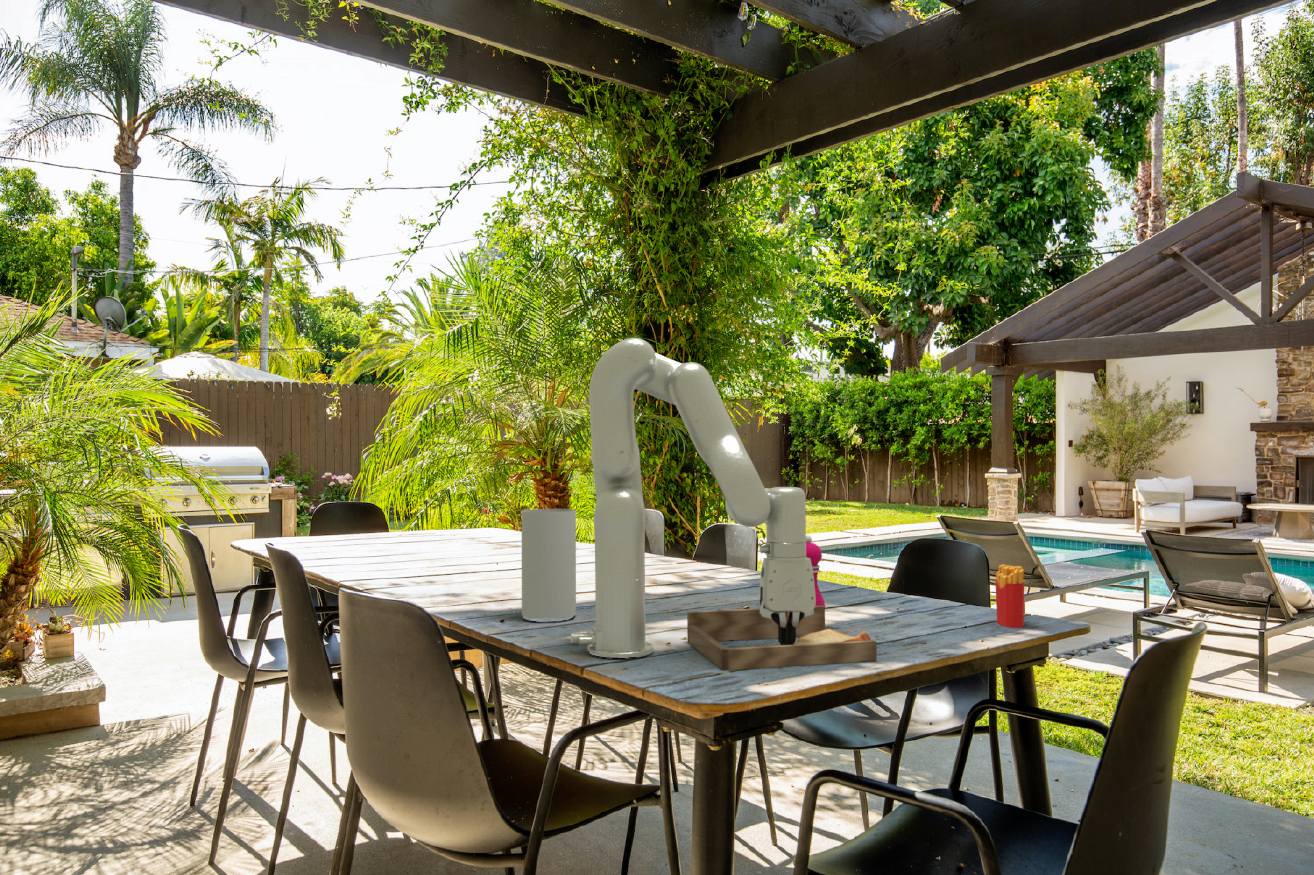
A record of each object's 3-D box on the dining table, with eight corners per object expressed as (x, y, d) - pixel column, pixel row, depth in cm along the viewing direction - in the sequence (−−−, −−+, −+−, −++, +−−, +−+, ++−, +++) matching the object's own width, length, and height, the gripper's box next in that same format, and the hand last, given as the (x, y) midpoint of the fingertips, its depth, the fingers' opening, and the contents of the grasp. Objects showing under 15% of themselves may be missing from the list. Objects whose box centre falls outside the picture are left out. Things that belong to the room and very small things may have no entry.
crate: (722, 670, 152) (721, 635, 152) (687, 641, 176) (687, 611, 176) (876, 660, 159) (876, 627, 159) (822, 634, 182) (822, 605, 182)
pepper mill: (825, 631, 186) (824, 537, 186) (791, 630, 187) (790, 536, 188) (825, 624, 193) (824, 534, 193) (792, 623, 194) (791, 533, 195)
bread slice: (801, 665, 157) (800, 644, 157) (774, 644, 175) (774, 625, 175) (896, 661, 159) (896, 640, 159) (860, 641, 177) (860, 622, 177)
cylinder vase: (556, 611, 212) (556, 508, 212) (586, 618, 202) (586, 510, 203) (511, 617, 204) (511, 510, 204) (540, 625, 194) (540, 512, 195)
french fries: (992, 621, 196) (991, 563, 196) (1011, 620, 196) (1010, 562, 197) (1010, 629, 187) (1009, 568, 187) (1030, 628, 187) (1029, 568, 187)
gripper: (755, 554, 163) (756, 653, 162) (830, 552, 166) (831, 649, 166) (743, 550, 170) (743, 644, 170) (815, 548, 173) (815, 640, 173)
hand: (787, 646), depth 168 cm, fingers closed
